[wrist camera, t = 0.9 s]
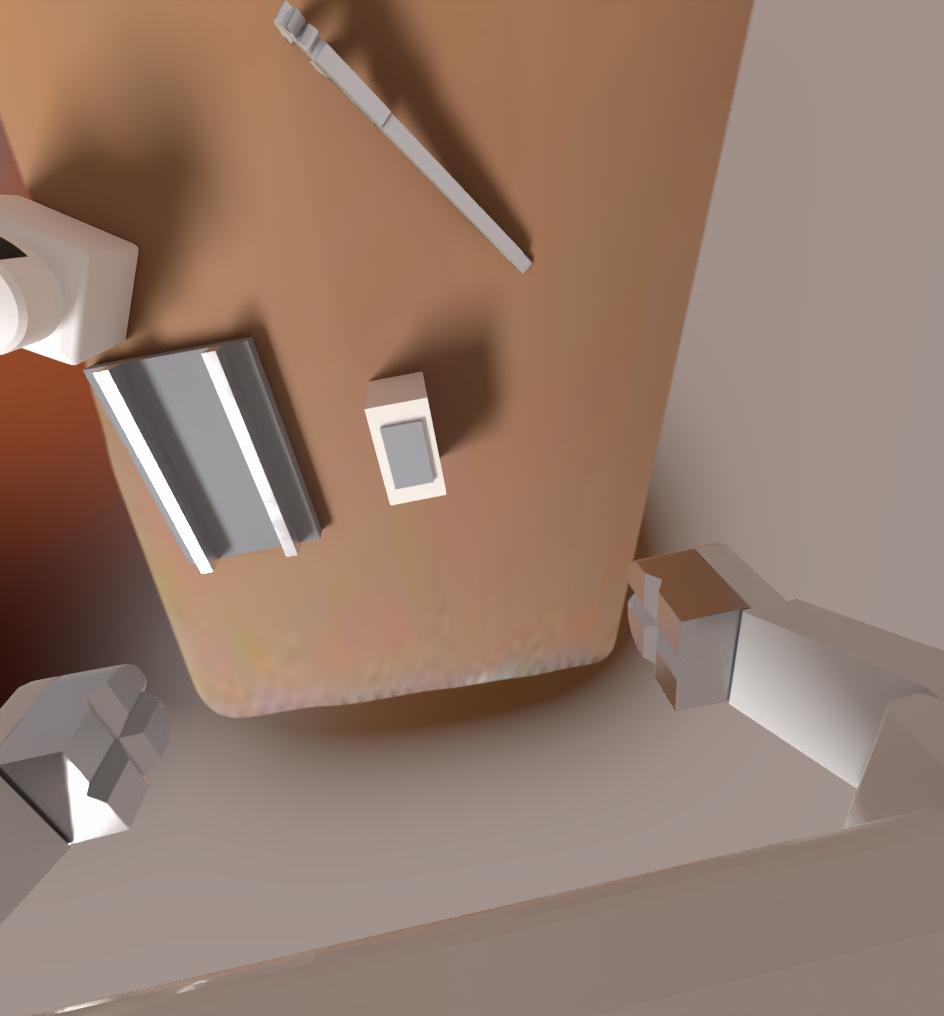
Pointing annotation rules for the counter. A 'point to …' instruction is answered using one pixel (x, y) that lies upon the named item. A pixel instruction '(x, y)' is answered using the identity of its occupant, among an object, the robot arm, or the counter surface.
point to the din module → (404, 438)
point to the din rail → (164, 473)
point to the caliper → (391, 127)
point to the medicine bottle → (61, 283)
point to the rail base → (215, 445)
